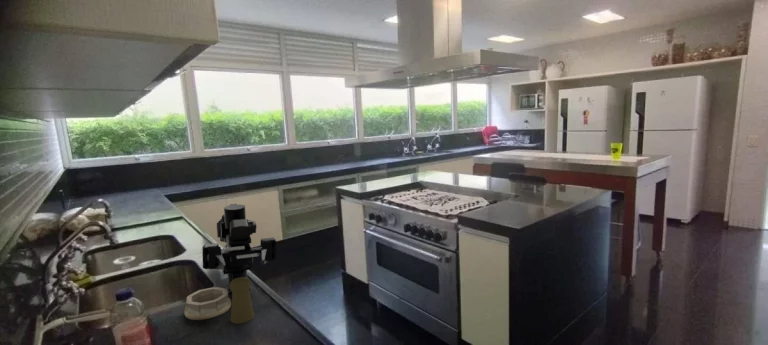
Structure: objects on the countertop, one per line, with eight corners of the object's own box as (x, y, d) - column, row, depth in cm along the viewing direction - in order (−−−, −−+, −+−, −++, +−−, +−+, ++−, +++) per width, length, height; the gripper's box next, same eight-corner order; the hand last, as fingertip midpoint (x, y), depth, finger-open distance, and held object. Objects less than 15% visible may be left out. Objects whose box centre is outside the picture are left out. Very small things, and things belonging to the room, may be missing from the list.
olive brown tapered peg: (257, 311, 101) (255, 274, 100) (249, 323, 95) (246, 283, 94) (235, 312, 101) (233, 274, 100) (226, 323, 95) (223, 284, 94)
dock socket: (185, 305, 106) (183, 292, 105) (229, 295, 111) (228, 283, 111) (184, 324, 95) (182, 310, 95) (233, 312, 101) (232, 299, 100)
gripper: (201, 219, 100) (202, 239, 86) (271, 213, 108) (282, 231, 95) (202, 257, 102) (203, 282, 88) (270, 249, 110) (281, 271, 97)
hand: (244, 265), depth 92 cm, fingers open, 9 cm apart
